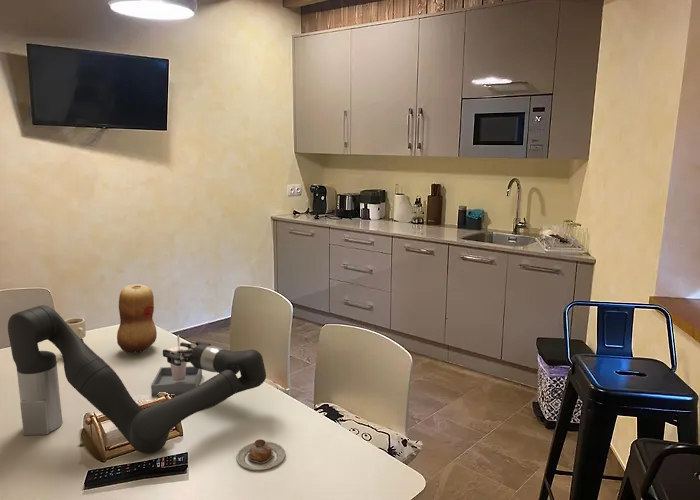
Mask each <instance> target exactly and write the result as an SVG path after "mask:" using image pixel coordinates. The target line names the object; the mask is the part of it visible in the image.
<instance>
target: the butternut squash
mask: <svg viewBox="0 0 700 500" xmlns="http://www.w3.org/2000/svg"><path fill="white" fill-rule="evenodd" d="M154 298H155V297H154V293H153V290H152V289H151V288H150V286H147V285H145V284H141V283H135V284H129V285H126V286H124V287H123V288H122V289H121V291H120V293H119V298H118V312H119V321H120V323H119V327H118V329H117V332H116V340H117V341H116V342H117V345H118V347H119V348H120V349H121V350H122V351H124V352H126V353H130V354H131V353H136V354H137V353H144V352H145V351H146V350H148V349H149V348H150V347H151V346H152V345H154V343H155V341H157V335H158V334H157V333H158V332H157V327H156V324H155V322H154V320H153V315H154V311H155V304H154Z"/></svg>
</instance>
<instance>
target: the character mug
mask: <svg viewBox="0 0 700 500" xmlns="http://www.w3.org/2000/svg"><path fill="white" fill-rule="evenodd" d="M63 320H64V321H65V322H66V323H67V324H68V326H69V327H70V328H71V329H72V330H73V331H74V333H75V334H76V335H77V336H78V337H79V338H80V339H81V340H82V341H83V342H84V343H85V341H84V339H85V337H86V332H87V331H86V323H85V322H86V320H85V319H84V318H82V317H71V318H67V319H63Z"/></svg>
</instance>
